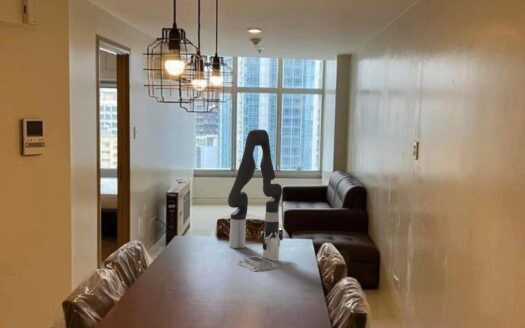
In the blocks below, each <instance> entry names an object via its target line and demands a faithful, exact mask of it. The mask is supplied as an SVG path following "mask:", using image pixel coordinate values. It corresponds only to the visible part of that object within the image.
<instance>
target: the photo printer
mask: <svg viewBox="0 0 525 328" xmlns="http://www.w3.org/2000/svg"><path fill="white" fill-rule="evenodd" d="M266 238H267V237H266ZM279 251H280V246H279V241H278V240H277V239H276V238H274V237H273V238H271V239H269V240H268V241H267V248H266V250H263V249H262V258H265V259H266V260H268V261H272V262H276V261H279V259H280V258H279V257H280V256H279V255H280V254H279V253H280V252H279Z"/></svg>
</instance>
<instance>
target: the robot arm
mask: <svg viewBox="0 0 525 328" xmlns="http://www.w3.org/2000/svg"><path fill="white" fill-rule="evenodd" d="M244 144H245V145H244V150H243V154H242V157H241V161H240V164H239V166H238V168H237V169H238V170H237V174H236V177H235V180H234V183H233V185H232V187H231V190H230V192H229V195H228V197H227V198H228V199H227V203H228V206H229V207H230V208H235V209H236V210H235V211H233V212H232V213H230V225H229V227H230V229H229V241H228V242H229V247H230V248H233V249H243V248H246V226H247V223H246V222H247V215H248V207H249V205H248V204H249V198H248V195H247V192H245V191H242V190H243V189H244V187H245V186H247V184H248V183H250V181H251V179H252V178H253V177H254V175H255V174H254V173H255V171H256V167H257V166H256V165H257V164H256V161H255V157H254V152H255V149H256V147H258V146H259V147H260V148H261V150H262V156H261V159H260V165H259V166H260V167H259V168H260V171H261V172H260V173H261V175H262V193H263V195H265V197H267V198H271V199H269V200H268V201H266V202H265V216H264V228H265V230H264V231H262V230H260V231H259V240H258V242H259V243H262V251H263V250H266V248H267V241H268V240H269V239H271V238H273V237H274V238H276V239H277V240H278V241H279V247H280V245H281V244H280V243H281V241H283V240H284V237H283V235H284V234H283V233H284V232H283V231H284V230H283V229H281V228H279V225H280V223H279V221H280V219H279V218H280V215H279V211H280V210H279V209H280V207H279V205H280V201H281V198H282V195H283V188H282V185H281V184H279V183H272V181H273V180H275V179H276V172H275V168H274V165H273V161H272V153H271V152H272V151H271V145H270V137H269V133H268V131H267V130H266V129H260V128H259V129H254V128H253V129H250V130H249V131H248V132H247V137H246V140H245V143H244ZM266 237H267V238H266Z"/></svg>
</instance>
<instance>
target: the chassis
mask: <svg viewBox="0 0 525 328" xmlns="http://www.w3.org/2000/svg"><path fill="white" fill-rule="evenodd" d="M237 265H239V266H242V267H244V268H245V269H248V270H250V271H253V272H260V271H265V270H271V269H276V268H279V265H278V264H276V263H274V262H273V261H272V260H269V259H266V258H264V257H260V256H258V255H252V256H246V257H243V260H239V261H237Z"/></svg>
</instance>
